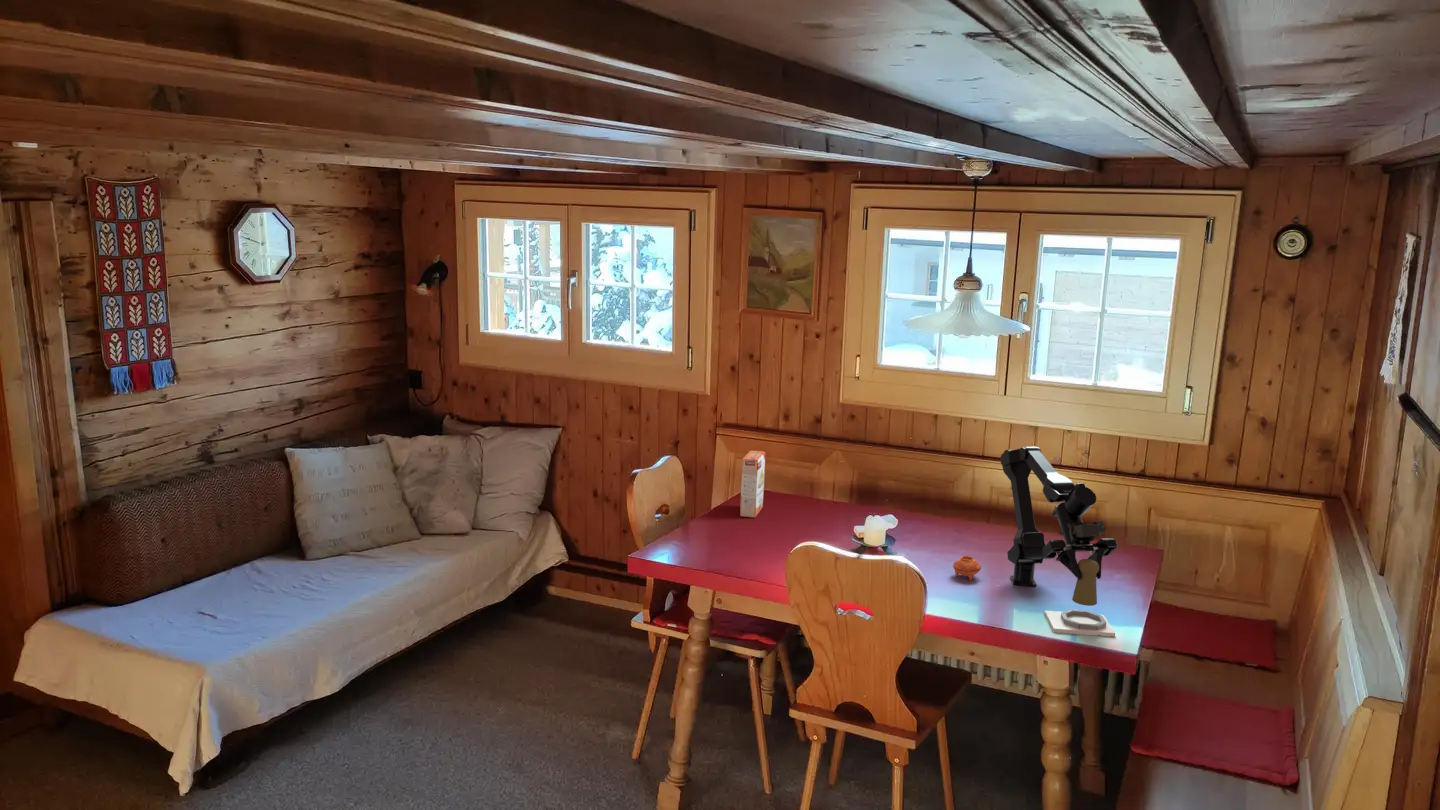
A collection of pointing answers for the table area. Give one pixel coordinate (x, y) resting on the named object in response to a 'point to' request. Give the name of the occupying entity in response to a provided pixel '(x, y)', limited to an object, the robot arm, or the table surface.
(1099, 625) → the socket tray
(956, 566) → the pot
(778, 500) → the table surface
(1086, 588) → the olive brown pawn
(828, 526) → the table surface
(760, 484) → the cracker box
